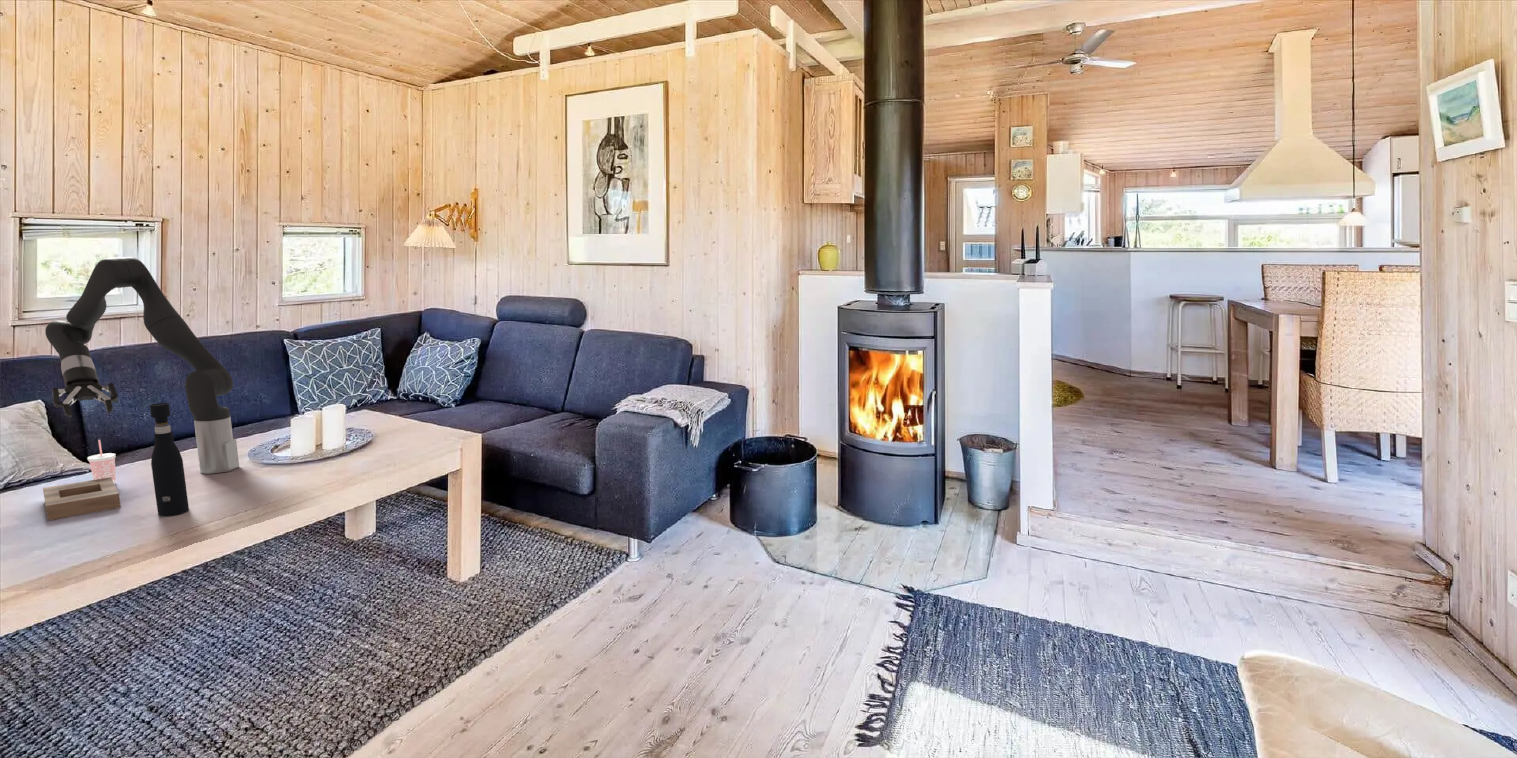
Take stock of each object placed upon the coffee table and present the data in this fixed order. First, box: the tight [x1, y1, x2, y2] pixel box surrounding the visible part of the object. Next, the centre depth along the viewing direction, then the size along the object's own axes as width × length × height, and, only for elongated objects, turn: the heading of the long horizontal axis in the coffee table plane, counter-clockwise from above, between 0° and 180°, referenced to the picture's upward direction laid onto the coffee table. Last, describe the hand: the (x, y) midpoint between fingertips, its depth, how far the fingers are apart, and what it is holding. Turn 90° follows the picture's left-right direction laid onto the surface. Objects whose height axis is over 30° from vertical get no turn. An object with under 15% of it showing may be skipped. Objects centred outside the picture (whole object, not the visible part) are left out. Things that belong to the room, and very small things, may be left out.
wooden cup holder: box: [42, 477, 122, 521], centre depth 189 cm, size 20×14×4 cm
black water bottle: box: [149, 402, 190, 518], centre depth 183 cm, size 6×6×30 cm
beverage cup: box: [86, 439, 117, 484], centre depth 205 cm, size 6×6×14 cm
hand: (90, 414), depth 210 cm, fingers open, 8 cm apart
